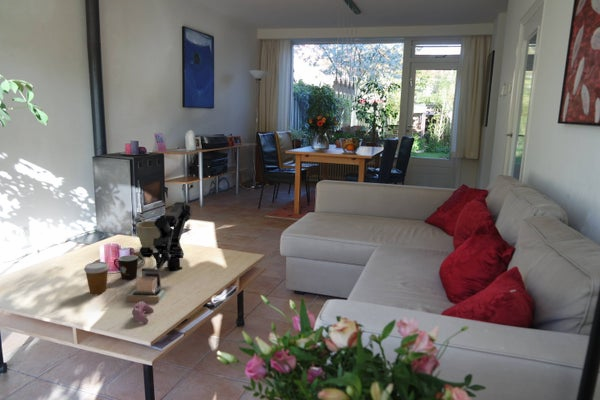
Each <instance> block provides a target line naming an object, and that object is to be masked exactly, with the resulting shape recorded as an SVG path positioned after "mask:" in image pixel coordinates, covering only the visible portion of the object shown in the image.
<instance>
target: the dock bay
mask: <svg viewBox="0 0 600 400" xmlns="http://www.w3.org/2000/svg"><path fill="white" fill-rule="evenodd" d="M136 290H137V288H134V289H133V290H132V291H130V293H129V294H126V303H139V302H142V301H143V302H145V303H146V304H152V303H153V304H159V303H160V301H161V300H162V299H163V298H164V297H165V295H166V291H165V290H164V289H163V290H160V292H159V293H157V295H155V296H150V295H134V292H135V291H136Z"/></svg>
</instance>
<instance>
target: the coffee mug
mask: <svg viewBox="0 0 600 400" xmlns="http://www.w3.org/2000/svg"><path fill="white" fill-rule="evenodd" d="M116 261H118V264H117V263H116ZM138 263H139V256H138V255H135V254H125V255H122V256H119V257H118V258H115V259H114V260H113V265H114V266H115V267H116V269H118V270H119V273H120V279H121V280H123V281H131V280H135V279H136V278H137V274H138Z"/></svg>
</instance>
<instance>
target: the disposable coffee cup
mask: <svg viewBox="0 0 600 400" xmlns="http://www.w3.org/2000/svg"><path fill="white" fill-rule="evenodd" d="M109 268H110V266H109V264H108V262H104V261H95V262H90V263H87V264H86V265H85V266H84V269H83V270H84V272H85V275H86V281H87V285H88V290H89V294H90V295H102V294H103V293H105V292H106V291H107V284H108V270H109Z"/></svg>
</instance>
